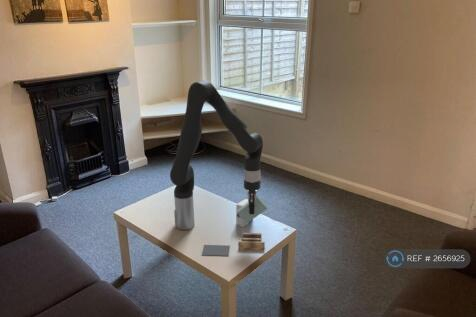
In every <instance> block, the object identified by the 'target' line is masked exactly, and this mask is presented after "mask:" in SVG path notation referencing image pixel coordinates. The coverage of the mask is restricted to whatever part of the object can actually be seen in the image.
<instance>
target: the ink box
mask: <svg viewBox="0 0 476 317" xmlns="http://www.w3.org/2000/svg"><path fill="white" fill-rule="evenodd" d="M247 203H248V198H244V199H243V200H241V201H240V202H238V203H236V211H235V212H236V214H235V216H236V217H235V219H236V220H235V222H236V223H235V225H237V226H240V227H242V228H244V227H245V226H247V225H249V224H250V223H252V221H253V220H254V219H252V220H251V221H249V222H248V223H246V222H245V221H244V219H243V218H242V217H241V216H240V215H239V214H238V213H237V211H238V209H240V208H241V207H243V206H244V205H245V204H247Z"/></svg>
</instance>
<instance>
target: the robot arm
mask: <svg viewBox="0 0 476 317" xmlns="http://www.w3.org/2000/svg"><path fill="white" fill-rule="evenodd" d="M186 99H187V100H186V108H185V114H184V117H183V122H182V126H181V129H180V135H179V140H178V145H177V149H176V153H175V157H174V160H173V164H172V165H171V166H172V167H171V169H170V173H169V177H170V181H171V182H172V185H175V188H174V190H173V197H174V198H173V200H174V210H173V213H174V225H175V227H174V228H175V229H178V230H182V231H187V230H191V229H193V228H194V227H195V208H194V206H195V205H194V189H195V171H194V168H193V166H192V165H191V161H192V158H193V156H194V154H195V152H196V151H197V149H198V146H199V144H200V140H201V137H202V132H203V125H202V120H201V119H202V118H201V115H202V111H203V107H204V105H205V103H207V104H209V105H210V106H211V107H212V109H214V111H215V112H216V113H217V115H218V118H219V119H220V121H221V123H222V124H223V126H224V127H225V128H226V129H227V130H228V131H229V132H230V133H231V134H232V135H233V136H234V139H235V140H236V141H237V143H238V145H239V146H240V148H241V149H242V150H243V151H245V152H246V153H247V154H246V155H245V157H244V160H243V161H244V162H243V163H244V165H243V166H244V167H243V168H244V170H243V188H244V190H246V191H247V199H248V203H249V214H254V207H255V202H256V196H257V191H258V190H260V189H261V184H262V183H261V182H262V181H261V179H262V178H261V176H262V175H261V156H262V154H263V153H262V152H263V146H264V141H263V137H262V135H260V134H259V133H257V132H254V133H253V132H252V133H251V134H249V132H248V131H247V128H248V126H247V124H246V123H245V122H244V120H242V119H241V117H239V115H237V114H236V113H235V111H233V109H231V107H230V106H229V105H228V104H227V102H226V100H225V99H224V98H223V96H221V94H220V92H219V91H218V90H217V88H216V87H215V86H214V85H213V83H212V82H210V81H209V80H205V79H204V80H199V81H195V82H193V83H191V85H190V86H189V89H188V92H187V98H186ZM254 198H255V200H254Z"/></svg>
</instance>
